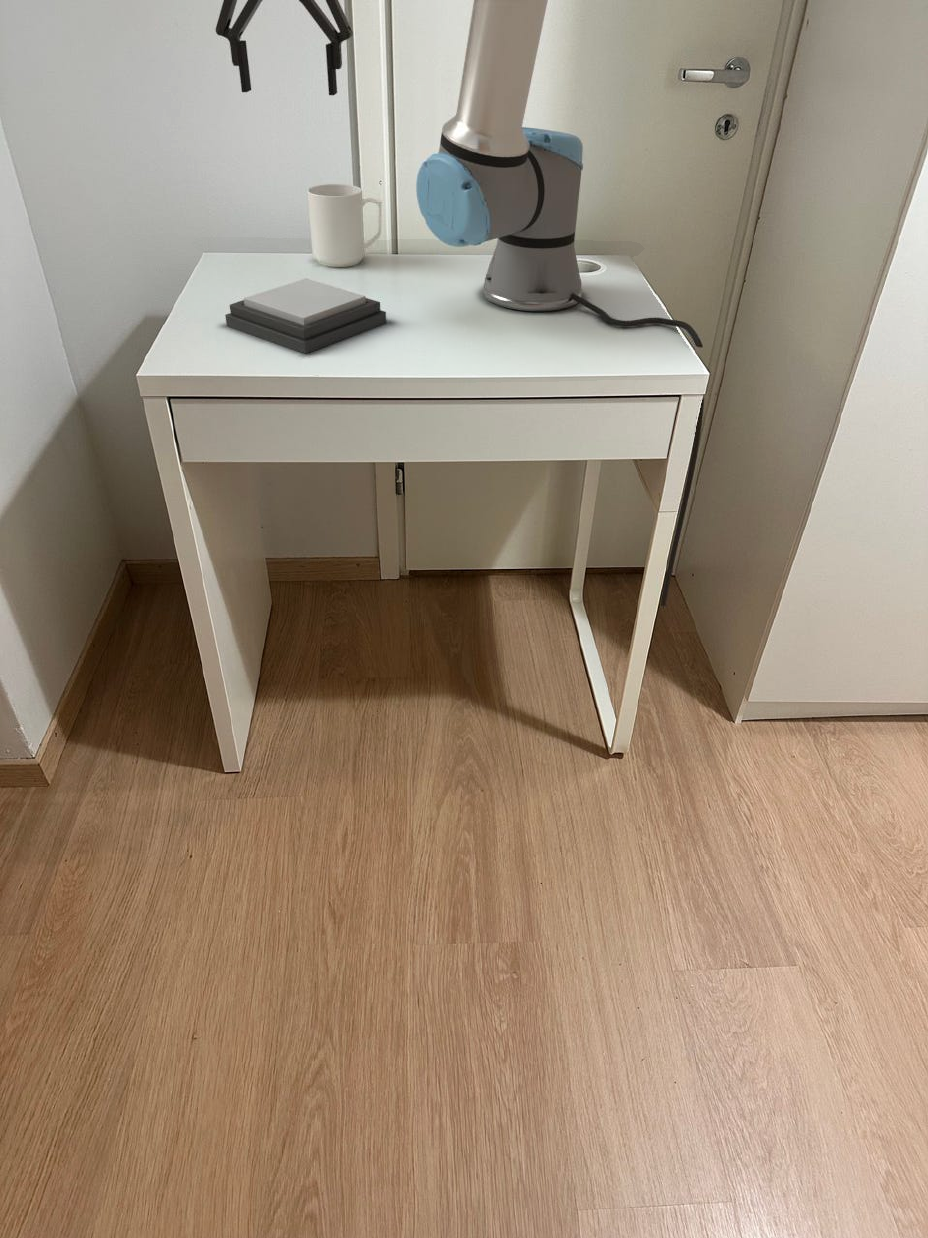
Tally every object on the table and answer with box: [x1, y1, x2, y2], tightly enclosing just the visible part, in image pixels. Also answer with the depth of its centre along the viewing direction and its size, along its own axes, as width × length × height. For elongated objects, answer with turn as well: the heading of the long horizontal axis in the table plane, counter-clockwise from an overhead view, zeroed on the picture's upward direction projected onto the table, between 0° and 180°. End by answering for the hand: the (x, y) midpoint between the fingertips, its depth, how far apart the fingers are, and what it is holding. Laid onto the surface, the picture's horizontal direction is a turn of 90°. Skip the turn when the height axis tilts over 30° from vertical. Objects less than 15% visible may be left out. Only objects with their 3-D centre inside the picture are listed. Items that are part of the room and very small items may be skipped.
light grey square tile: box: [243, 278, 367, 326], centre depth 124 cm, size 12×12×1 cm
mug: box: [306, 183, 383, 268], centre depth 147 cm, size 12×9×11 cm
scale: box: [224, 297, 387, 355], centre depth 125 cm, size 16×16×3 cm
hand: (289, 92), depth 136 cm, fingers open, 13 cm apart
